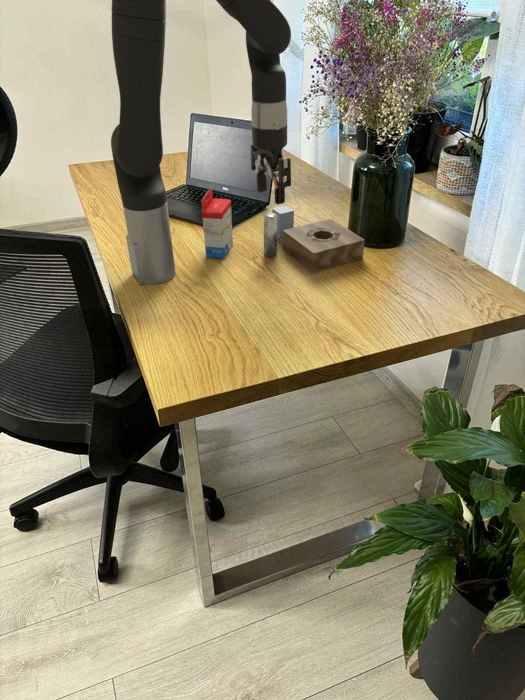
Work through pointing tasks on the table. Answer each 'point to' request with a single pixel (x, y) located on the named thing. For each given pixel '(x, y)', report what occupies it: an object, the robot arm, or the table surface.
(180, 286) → the table surface
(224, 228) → the ink box
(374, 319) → the table surface
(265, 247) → the round bit
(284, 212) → the square bar
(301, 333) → the table surface
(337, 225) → the socket block
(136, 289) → the table surface
